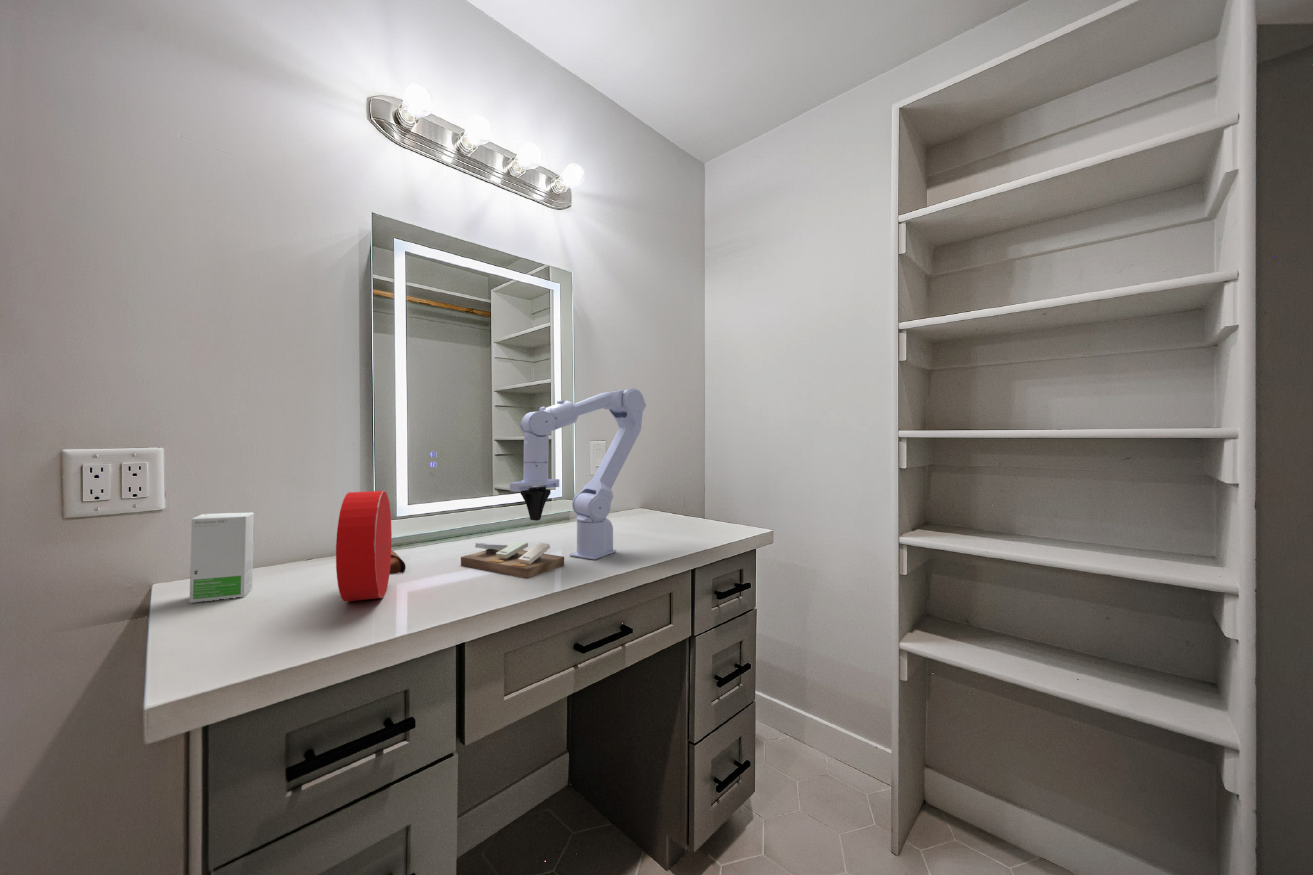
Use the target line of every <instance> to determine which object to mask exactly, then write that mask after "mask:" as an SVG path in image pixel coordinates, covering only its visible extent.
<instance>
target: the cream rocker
mask: <svg viewBox="0 0 1313 875" xmlns="http://www.w3.org/2000/svg"><path fill="white" fill-rule="evenodd" d="M549 549H551V546H550V543H544V542H538V543H536V544H535V545H534V546H533V547H532V548H530V549H529V550H527V551H528V552H526V553H525V554H524V555H522V556H521V557H520V558H519V559H518V560H519V563H523V564H529V565H530V564H531V563H532V562H534V561H535V560H536V559H537V558H539V557H540V556H541V555H542V554H546V553H547V551H548V550H549Z"/></svg>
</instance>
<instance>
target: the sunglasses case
mask: <svg viewBox="0 0 1313 875" xmlns="http://www.w3.org/2000/svg"><path fill="white" fill-rule="evenodd" d="M406 568H407V567H406V563H405V561H404V560H403V559H402V558H401V557H400V556H399V554H397V553H396V552H395V551H394V550H393V549H391V563H390V573H389V575H393V573H395V574H399V573H398V572H401V573H404V572H405V571H406Z"/></svg>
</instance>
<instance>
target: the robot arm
mask: <svg viewBox="0 0 1313 875" xmlns="http://www.w3.org/2000/svg"><path fill="white" fill-rule="evenodd" d="M646 407H647V405H646V402H645V399H644V396H643V393H642V392H641V391H640V390H639V389H637V388H634V387H632V388H628V389H623V390H613V391H608V392H601V393H598V394H596V395H593V396H591V397H588V398H586V399H583V400H581V401H577V402H575V403H574V402H571V401H570V400H564V399H559V400H557V401H556V404H553V405H549V406H547V407H545V406H541V407H539V410H538V411H530V412H528V413H525V415H524V416H523V417H522V418H521V422H520V423H519V426H520V430H521V432H522V433H523V434H524V435H523V472H522V473H523V475H522V476H523V478H522V480H520V481H515V482H509V492H514V493H516V492H517V493H518V492H520V495H521V496H522V500H523V501H524V502H525V506H526V508H527V512H528V516H529V519H530V521H541V519H542V514H543V511H544V509H545V508H544V507H545V505H546V502H547V500H548V498H549V497H550V495H551V491H552V490H551V488H560V478H549V454H550V453H549V452H550V450H549V449H550V446H549V445H550V444H549V435H550V434H551V432H553V431H556V430H558V429H560V428H564V427H567V426H569V425H572V424H575V423H576V422H577V421H578V418H579V416H581V415H585V414H589V413H591V412H594V411H598V410H600V409H603V410H608V411H609V412H610V414H611V415H612V417H613V418H614V419H615V422H616V423H617V426H618V429H617V432H616V434H615V435H614V437H613V439H612V441H611V443H610V445H609V447H608V449H607V451H606V453H605V455H604V456H603V459H602V460H601V462H600V464H599V465H598V467H597V470H596V472H595V473H594V475H593V477H592V479H591V480H590V481H588V482H587V483H585V484H584V486H583V487H582V489H581V490H580V491H579V492H578V493H576V495H575V496H574V497H573V499H572V502H571V506H572V510H573V512H574V513H575V514H576V551H575V552H571V553H569V556H570V557H576V558H582V559H587V560H598V559H601V558H602V557H605V556H608V555H610V554H613V553H616V552H617V549H614V525H613V523H612V521H610V519H609V518H607V517H608V515H610V512H611V504H612V500H613V498H614V494H613V490H612V488H613V486H614V484H615V482H616V480H617V478H618V476H619V475H620V472H621V471H622V468H623V467H624V464H625V462H626V460H627V459H628V457H629V454H630V452H631V450H632V449H633V447H634V445H635V442H636V440H637V439H638V437H639V435H640V432H641V430H642V423H643V412H644V411H645V408H646Z"/></svg>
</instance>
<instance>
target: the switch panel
mask: <svg viewBox="0 0 1313 875" xmlns="http://www.w3.org/2000/svg"><path fill="white" fill-rule="evenodd" d="M500 550H502V549H485V550H483V551H479V552H475V553H471V554H468V555H463V556H460V566H462V567H467V568H472V569H478V570H482V571H488V572H492V573H498V574H502V575H507V576H513V577H518V578H523V579H530V578H532V577H535V576H538V575H540V574H543V573H547V572H549V571H552V570H555V569H557V568H558V569H559V568H560V567H563V566H565V556H563V555H562V556H561V555H556V554H548V553H543V554H542V555H541V556H540V557H539V558H537V559H536V560H535V561H534V562H532V563H531V564H530V565H529V564H523V563H519V560H518V559H519V558H520V557H521V556H522V555H524V554H525V553H526V552H528V551H529V550H525V549H523V550H521V551H519V552H518V553H516V554H514V555H512V556H511V557H509V558H507V559H504V558H499V557H496V553H497V552H499V551H500Z"/></svg>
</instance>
